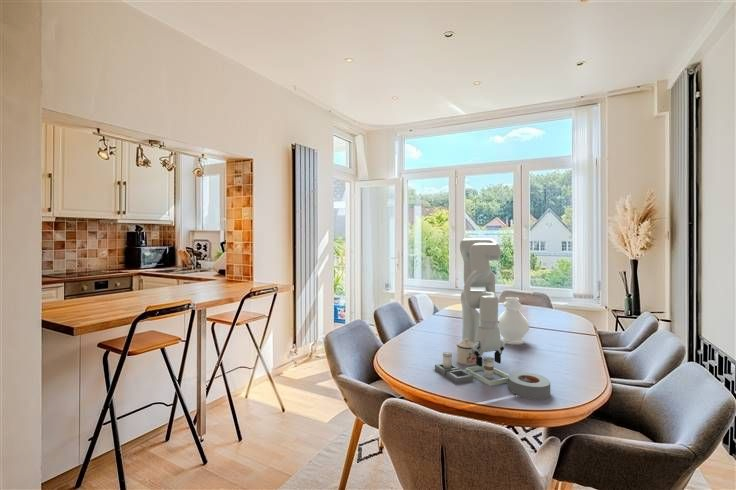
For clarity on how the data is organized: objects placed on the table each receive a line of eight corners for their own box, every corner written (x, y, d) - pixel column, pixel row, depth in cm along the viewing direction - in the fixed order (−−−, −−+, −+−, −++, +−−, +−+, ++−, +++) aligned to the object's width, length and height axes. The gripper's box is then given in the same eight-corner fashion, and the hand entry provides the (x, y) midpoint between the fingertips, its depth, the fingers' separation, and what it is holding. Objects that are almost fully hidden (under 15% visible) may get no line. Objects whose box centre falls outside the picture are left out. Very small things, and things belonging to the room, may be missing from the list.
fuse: (448, 369, 162) (448, 351, 162) (453, 372, 159) (453, 354, 158) (440, 370, 161) (440, 352, 161) (445, 373, 157) (446, 355, 157)
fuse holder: (432, 371, 162) (432, 364, 162) (450, 368, 166) (450, 361, 166) (455, 386, 145) (455, 379, 145) (476, 382, 149) (476, 375, 149)
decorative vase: (513, 335, 219) (513, 294, 218) (536, 343, 202) (536, 299, 201) (489, 338, 212) (489, 296, 212) (511, 347, 196) (511, 301, 195)
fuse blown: (489, 374, 156) (489, 356, 156) (495, 377, 153) (495, 359, 153) (481, 375, 155) (481, 357, 155) (488, 379, 151) (488, 360, 151)
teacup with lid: (468, 368, 166) (469, 342, 165) (452, 362, 173) (452, 338, 172) (483, 362, 173) (483, 338, 173) (467, 357, 180) (467, 334, 180)
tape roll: (518, 380, 152) (518, 368, 152) (556, 391, 141) (556, 378, 141) (500, 391, 141) (500, 378, 141) (540, 404, 130) (540, 390, 130)
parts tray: (487, 369, 163) (487, 364, 163) (513, 383, 149) (513, 377, 149) (465, 373, 159) (465, 367, 159) (490, 387, 144) (490, 381, 144)
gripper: (498, 320, 160) (498, 358, 161) (466, 324, 154) (466, 363, 154) (511, 324, 153) (510, 364, 154) (477, 328, 147) (477, 370, 147)
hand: (488, 364), depth 154 cm, fingers open, 9 cm apart
